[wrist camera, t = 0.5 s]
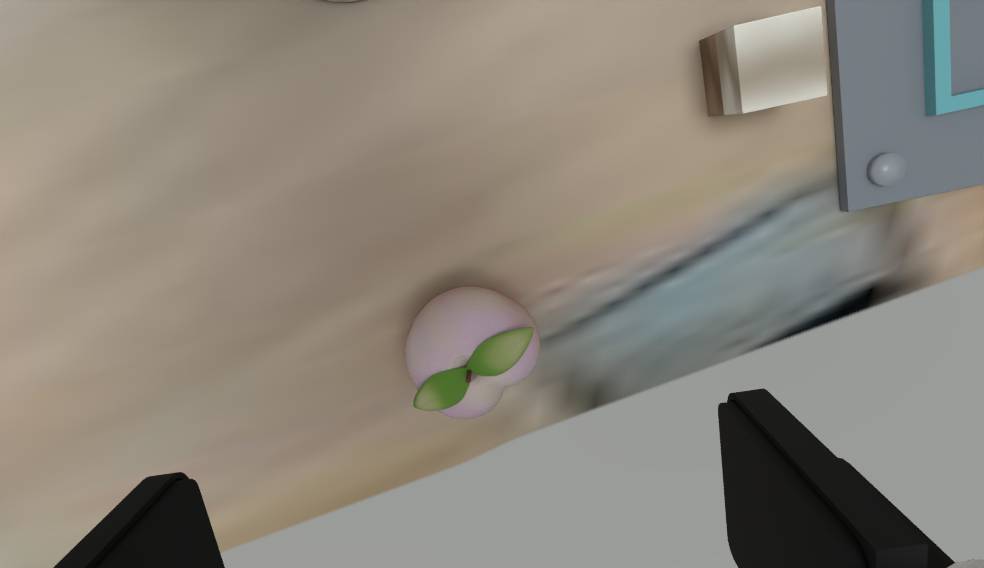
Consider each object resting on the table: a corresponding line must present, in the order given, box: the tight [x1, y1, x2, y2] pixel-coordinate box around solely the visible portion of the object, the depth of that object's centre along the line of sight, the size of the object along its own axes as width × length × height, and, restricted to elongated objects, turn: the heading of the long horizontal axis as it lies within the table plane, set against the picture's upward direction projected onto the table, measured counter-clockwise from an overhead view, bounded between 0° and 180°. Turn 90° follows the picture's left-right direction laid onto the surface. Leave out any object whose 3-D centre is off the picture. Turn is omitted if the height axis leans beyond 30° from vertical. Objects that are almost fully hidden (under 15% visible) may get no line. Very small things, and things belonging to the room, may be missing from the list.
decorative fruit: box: [405, 286, 540, 419], centre depth 40 cm, size 9×8×10 cm
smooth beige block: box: [699, 6, 827, 116], centre depth 38 cm, size 5×5×6 cm
